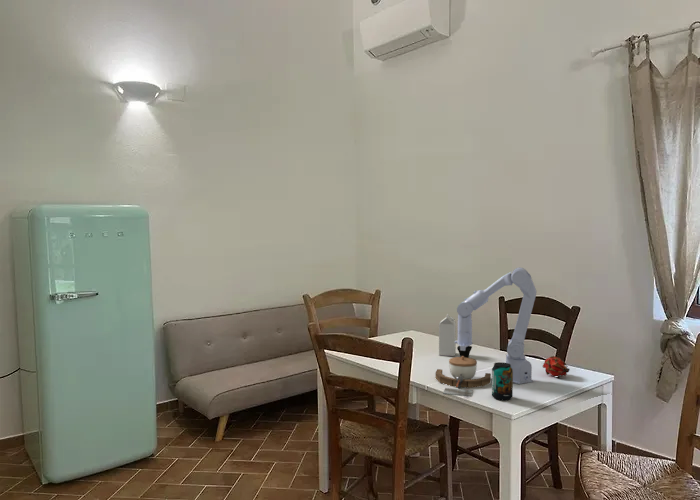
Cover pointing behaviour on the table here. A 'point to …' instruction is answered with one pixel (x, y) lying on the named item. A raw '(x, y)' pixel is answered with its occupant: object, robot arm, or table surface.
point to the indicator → (459, 380)
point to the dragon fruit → (555, 366)
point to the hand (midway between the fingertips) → (464, 364)
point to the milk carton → (447, 336)
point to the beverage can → (502, 381)
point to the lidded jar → (462, 367)
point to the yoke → (466, 383)
